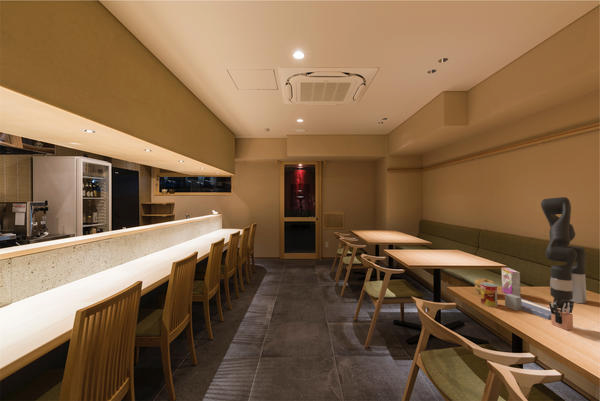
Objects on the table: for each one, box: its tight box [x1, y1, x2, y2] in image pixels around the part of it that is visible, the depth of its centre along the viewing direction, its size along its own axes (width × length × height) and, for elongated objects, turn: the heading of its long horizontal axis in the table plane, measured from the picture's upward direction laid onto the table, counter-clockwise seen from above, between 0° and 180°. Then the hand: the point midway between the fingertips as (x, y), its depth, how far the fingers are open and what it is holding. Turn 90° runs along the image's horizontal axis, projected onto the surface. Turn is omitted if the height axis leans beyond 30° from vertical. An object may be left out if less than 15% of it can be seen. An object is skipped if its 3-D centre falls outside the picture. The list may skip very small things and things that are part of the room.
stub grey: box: [504, 293, 523, 311], centre depth 140 cm, size 4×6×7 cm, turn 15°
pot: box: [474, 278, 496, 294], centre depth 162 cm, size 12×12×10 cm
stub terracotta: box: [550, 312, 574, 331], centre depth 119 cm, size 4×6×7 cm, turn 15°
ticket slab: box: [521, 297, 551, 321], centre depth 138 cm, size 12×20×2 cm, turn 15°
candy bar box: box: [501, 267, 522, 298], centre depth 160 cm, size 11×5×16 cm, turn 168°
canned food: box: [480, 282, 498, 308], centre depth 146 cm, size 8×8×12 cm
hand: (561, 322), depth 119 cm, fingers closed on stub terracotta, 4 cm apart
